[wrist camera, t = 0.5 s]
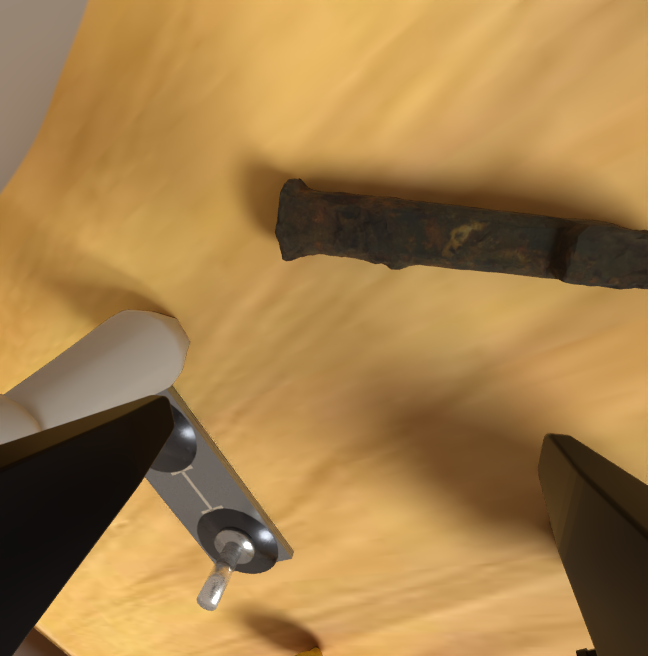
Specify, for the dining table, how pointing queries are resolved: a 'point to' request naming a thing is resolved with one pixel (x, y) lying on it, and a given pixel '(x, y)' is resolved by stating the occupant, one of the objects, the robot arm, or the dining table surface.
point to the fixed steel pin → (226, 564)
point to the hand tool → (458, 238)
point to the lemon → (311, 652)
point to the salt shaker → (97, 373)
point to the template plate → (210, 491)
